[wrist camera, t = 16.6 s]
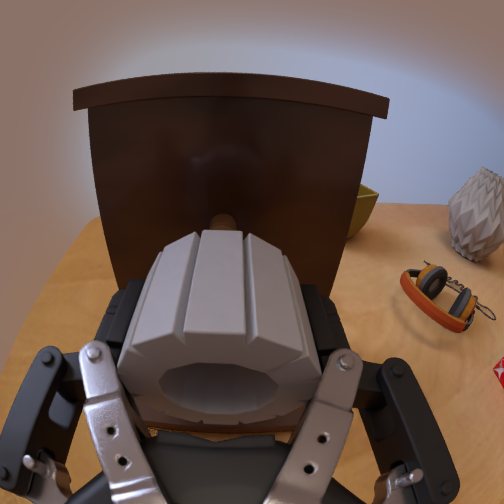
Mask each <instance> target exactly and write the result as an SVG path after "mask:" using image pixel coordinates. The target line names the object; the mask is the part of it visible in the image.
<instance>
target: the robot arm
mask: <svg viewBox="0 0 504 504" xmlns="http://www.w3.org/2000/svg"><path fill="white" fill-rule="evenodd" d="M145 281H146V279H137V278H131V279H130V280H129V283H128V285H127V287H126V289H120V290H119V291H117V292H116V293H115V294H114V295H113V296H112V299H111V301H110V303H109V307H108V308H107V310H106V314H104V317H103V319H102V321H101V324H100V326H99V329H98V331H97V334H96V336H95V339H94V341H91V342H88V343H87V344H85V345H84V346H83V347H82V348H81V350H80V352H75V353H67V354H62V353H61V351H60V350H59V349H58V348H57V347H55V346H47V347H44V348H42V349H41V350H40V351H39V352H38V353H37V355H36V357H35V359H34V361H33V363H32V364H31V366H30V368H29V370H28V372H27V374H26V376H25V378H24V380H23V383H22V385H21V387H20V389H19V391H18V393H17V396H16V398H15V400H14V402H13V405H12V407H11V409H10V412H9V414H8V417H7V419H6V422H5V425H4V427H3V430H2V433H1V436H0V487H1V488H2V489H4V490H6V491H9V492H12V493H14V494H16V495H17V496H20V497H23V498H26V499H28V500H29V501H31V502H32V503H34V504H366V503H365V502H363V501H362V500H361V499H359V498H358V497H357V496H355V495H354V494H353V493H351V492H350V491H349V490H348V489H346V488H345V487H344V486H342V485H341V484H340V483H339V482H338V481H336V480H335V479H334V478H333V477H332V475H333V473H334V470H335V468H336V465H337V463H338V460H339V458H340V455H341V452H342V450H343V447H344V444H345V441H346V438H347V435H348V432H349V429H350V426H351V423H352V420H353V415H354V413H353V411H352V408H358V410H359V413H360V415H361V418H362V421H363V424H364V426H365V429H366V432H367V435H368V438H369V441H370V444H371V447H372V450H373V453H374V456H375V459H376V462H377V465H378V468H379V471H380V474H381V475H380V476H379V477H378V479H377V480H376V482H375V486H374V492H375V497H374V500H373V502H372V504H449V503H450V502H452V501H453V500H454V499H455V497H456V496H457V494H458V492H459V489H460V480H459V477H458V474H457V471H456V469H455V466H454V463H453V461H452V458H451V455H450V453H449V450H448V448H447V445H446V443H445V440H444V438H443V436H442V433H441V431H440V429H439V426H438V424H437V422H436V420H435V417H434V415H433V413H432V411H431V409H430V406H429V404H428V402H427V400H426V398H425V396H424V394H423V392H422V390H421V388H420V386H419V384H418V382H417V380H416V378H415V376H414V374H413V372H412V370H411V368H410V366H409V365H408V364H407V363H406V362H405V361H404V360H402V359H400V358H395V357H393V358H389V359H387V360H386V361H385V362H384V363H383V364H377V363H371V362H366V361H363V360H362V359H361V358H360V356H359V355H358V354H357V353H356V352H354V351H352V350H351V349H350V346H349V343H348V341H347V338H346V335H345V332H344V329H343V326H342V324H341V322H340V318H339V315H338V314H337V313H338V312H337V310H336V307H335V304H334V303H333V302H332V301H331V299H330V298H329V297H328V296H320V293H319V290H318V287H317V285H316V284H299V285H300V288H301V292H302V296H303V300H304V303H305V307H306V311H307V315H308V319H309V323H310V327H311V331H312V335H313V339H314V343H315V347H316V351H317V355H318V359H319V364H320V368H321V372H322V376H321V378H320V380H319V383H318V385H317V388H316V390H315V393H314V395H313V397H312V399H309V400H308V401H307V403H306V406H305V408H304V410H303V412H302V415H301V417H300V419H299V421H298V423H297V425H296V427H295V429H294V431H293V433H292V435H291V437H290V438H289V440H288V442H287V443H285V442H281V441H276V440H275V435H251V436H242V437H237V438H233V439H228V440H224V441H218V442H214V441H210V440H206V439H203V438H199V437H196V436H193V435H190V434H187V433H178V432H169V431H162V430H158V434H157V436H153V437H152V436H151V434H150V432H149V430H148V428H147V426H146V425H145V423H144V421H143V419H142V416H141V414H140V412H139V409H138V406H137V404H136V401H135V399H134V396H133V394H132V393H129V392H128V390H127V389H126V387H125V385H124V384H123V382H122V381H121V379H120V376H119V373H118V369H117V364H118V361H119V357H120V354H121V351H122V347H123V344H124V341H125V338H126V335H127V332H128V329H129V326H130V323H131V320H132V317H133V314H134V311H135V308H136V305H137V303H138V300H139V297H140V294H141V292H142V289H143V286H144V284H145ZM86 399H87V401H86ZM85 401H86V402H85ZM83 407H84V412H85V416H86V420H87V423H88V427H89V430H90V434H91V437H92V440H93V444H94V447H95V450H96V453H97V456H98V458H99V461H100V464H101V467H102V469H103V470H102V471H101V472H100V473H99V474H98V475H96V476H95V477H94V478H93V479H92V480H90V481H89V482H88V483H87V484H85V485H84V486H83V487H82V488H80V489H79V490H78V491H77V492H75V493H74V494H72V492H71V489H70V483H71V478H70V475H69V472H68V470H67V468H66V467H65V463H66V459H67V456H68V452H69V449H70V446H71V442H72V439H73V436H74V433H75V430H76V427H77V424H78V421H79V418H80V415H81V412H82V409H83Z"/></svg>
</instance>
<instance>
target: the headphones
mask: <svg viewBox="0 0 504 504" xmlns="http://www.w3.org/2000/svg"><path fill="white" fill-rule="evenodd" d="M424 262H425V263H426V264H427V265H428V266H427V267H425V268H424V269H423V270H422V271H421V270H415V269H409V270H407V271H404V273H403V274H402V275H401V278H400V284H401V286H402V288H403V290H404V291H405V293H406V294H407V295H408V297H409V298H410V299H411V300H412V301H413V302H414V303H415V304H416V305H417V306H418V307H419V308H420V309H421V310H422V311H423V312H424V313H426V314H427V315H428V316H429V317H430V318H432V319H433V320H434V321H436V322H437V323H439V324H440V325H442V326H443V327H445V328H447V329H449V330H451V331H454V332H457V333H460V332H461V331H466V330H467V329H468V327H469V326H470V324H471V323H472V321H473V317H474V313H475V310H474V308H475V307H476V308H477V309H478V310H480V311H481V312H482V313H483V314H485V315H486V316H487V317H488V318H490V319H492V320H496V317H495V315H494V313H493V312H492V311H491V310H490V309H489V308H487V307H485V306H483V305H481V304H479V303H478V302H477V299H478V297H477V296H473V295H471V290H470V289H469V288H465V289H463V290H462V288H464V285H462V284H457V283H458V281H457V280H454V281H452V282H450V281H448V280H451V279H452V278H451V277H447V276H448V274H447V271H446V270H445V269H444V268H443V267H441V266H438V267H437V266H436V265H434V264H433V265H431V264H430V263H427V262H426V261H425V260H424ZM410 277H417V280H416V285H415V284H414V282H413V281H412V279H411V278H410ZM447 278H450V279H447ZM446 281H448V282H449V283H453V282H455V281H456V282H455V284H456V285H462V286H463V287H461V288H460V290H461V291H462V292H459V291H458V290H456V289H455V288H453V287H451V286H450V285H447V284H446ZM445 285H446V286H448V287H450V288H452V289H454V290H455V291H457V292H458V293H460V294H459V296H458V297H457V299H456V300H455V302H454V304H453V305H452V307H451V309H450V311H449V313H447V312H446V311H444V310H443V309H441V308H440V307H439V306H437V305H436V304H435V303H434V302H432V301H431V299H433V298H435V297H436V296H437V295H438V294H439V293H440V292H441V291H442V289H443V288H444V286H445ZM475 297H476V299H475ZM476 303H477V304H478V305H480V306H482V307H484V308H486V309H488V310H489V311H490V312H491V313H492V314H493V315H494V317H495V319H493V318H491V317H489V316H488V315H487V314H486V313H484V312H483V311H482V310H481V309H480V307H479V306H478V305H476ZM467 320H468V322H467V323H465V322H466V321H467Z"/></svg>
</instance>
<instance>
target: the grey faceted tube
mask: <svg viewBox="0 0 504 504" xmlns="http://www.w3.org/2000/svg"><path fill="white" fill-rule="evenodd" d="M117 369H118V373H119V376H120V379H121V381H122V382H123V384H124V385H125V387H126V389H127V390H128V392H129V393H132V394H134V397H135V398H137V399H139V400H140V401H142V402H143V403H145V404H147V405H148V406H150V407H152V408H154V409H155V410H157V411H159V412H160V411H165V414H167V415H170V416H173V417H177V418H181V419H184V420H188V421H192V422H199V421H201V420H202V419H203V423H204V424H222V425H237V424H238V423H239V421H240V422H242V423H244V424H248V423H253V422H259V421H263V420H268V419H273V418H276V415H280V416H283V415H285V414H287V413H289V412H291V411H293V410H295V409H297V408H298V407H300V406H302V405H304V404H306V403H307V400H309V399H312V397H313V395H314V393H315V390H316V388H317V385H318V383H319V380H320V378H321V376H322V372H321V368H320V364H319V359H318V355H317V351H316V347H315V343H314V339H313V335H312V331H311V327H310V323H309V319H308V315H307V311H306V307H305V303H304V300H303V296H302V292H301V288H300V285H299V281H298V278H297V276H296V274H295V272H294V270H293V268H292V266H291V264H290V262H289V260H288V258H287V257H286V255H284V256H282V252H281V250H280V249H278V248H276V247H274V246H272V245H271V244H269V243H267V242H265V241H264V240H262V239H260V238H258V237H256V236H255V235H253V234H251V233H249V234H248V235H247V237H246V238H245V239H244V241H243V232H242V231H225V230H203V231H202V235H201V238H200V237H199V236H198V234H197V233H196V232H193V233H191V234H189V235H187V236H185V237H183V238H181V239H179V240H177V241H175V242H173V243H171V244H169V245H167V246H165V248H164V250H163V252H159V254H158V256H157V258H156V260H155V262H154V264H153V266H152V268H151V270H150V272H149V274H148V276H147V278H146V281H145V284H144V286H143V289H142V292H141V294H140V297H139V300H138V303H137V305H136V308H135V311H134V314H133V317H132V320H131V323H130V326H129V329H128V332H127V335H126V338H125V341H124V344H123V347H122V351H121V354H120V357H119V361H118V364H117Z"/></svg>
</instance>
